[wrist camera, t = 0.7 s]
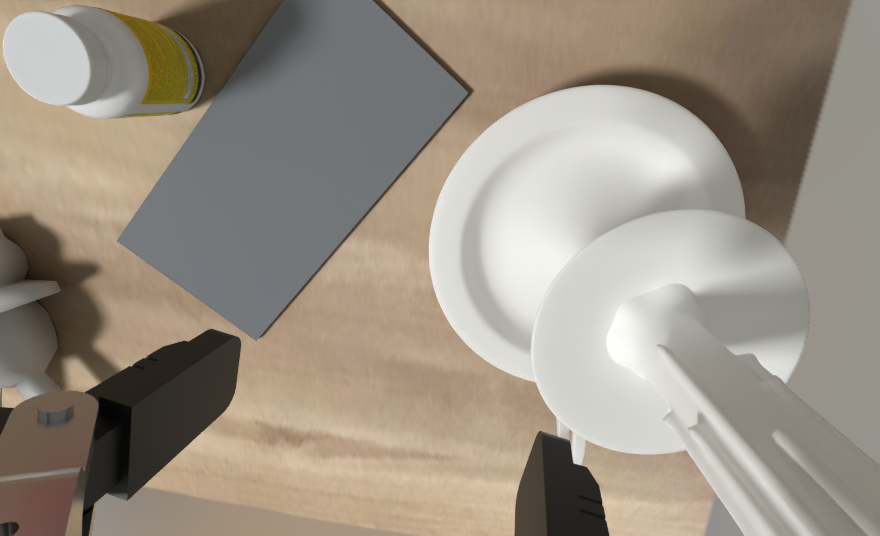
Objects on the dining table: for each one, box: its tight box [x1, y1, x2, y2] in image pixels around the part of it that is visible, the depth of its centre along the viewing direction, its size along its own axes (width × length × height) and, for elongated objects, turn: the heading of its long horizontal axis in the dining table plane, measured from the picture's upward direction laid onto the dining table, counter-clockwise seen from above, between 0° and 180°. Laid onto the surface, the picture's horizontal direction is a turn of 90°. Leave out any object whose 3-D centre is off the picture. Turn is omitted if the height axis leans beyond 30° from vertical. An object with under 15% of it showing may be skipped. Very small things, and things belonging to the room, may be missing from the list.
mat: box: [117, 0, 468, 341], centre depth 33 cm, size 12×24×1 cm, turn 138°
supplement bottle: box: [3, 5, 205, 119], centre depth 27 cm, size 5×5×10 cm
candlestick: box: [429, 85, 880, 536], centre depth 22 cm, size 21×25×28 cm
